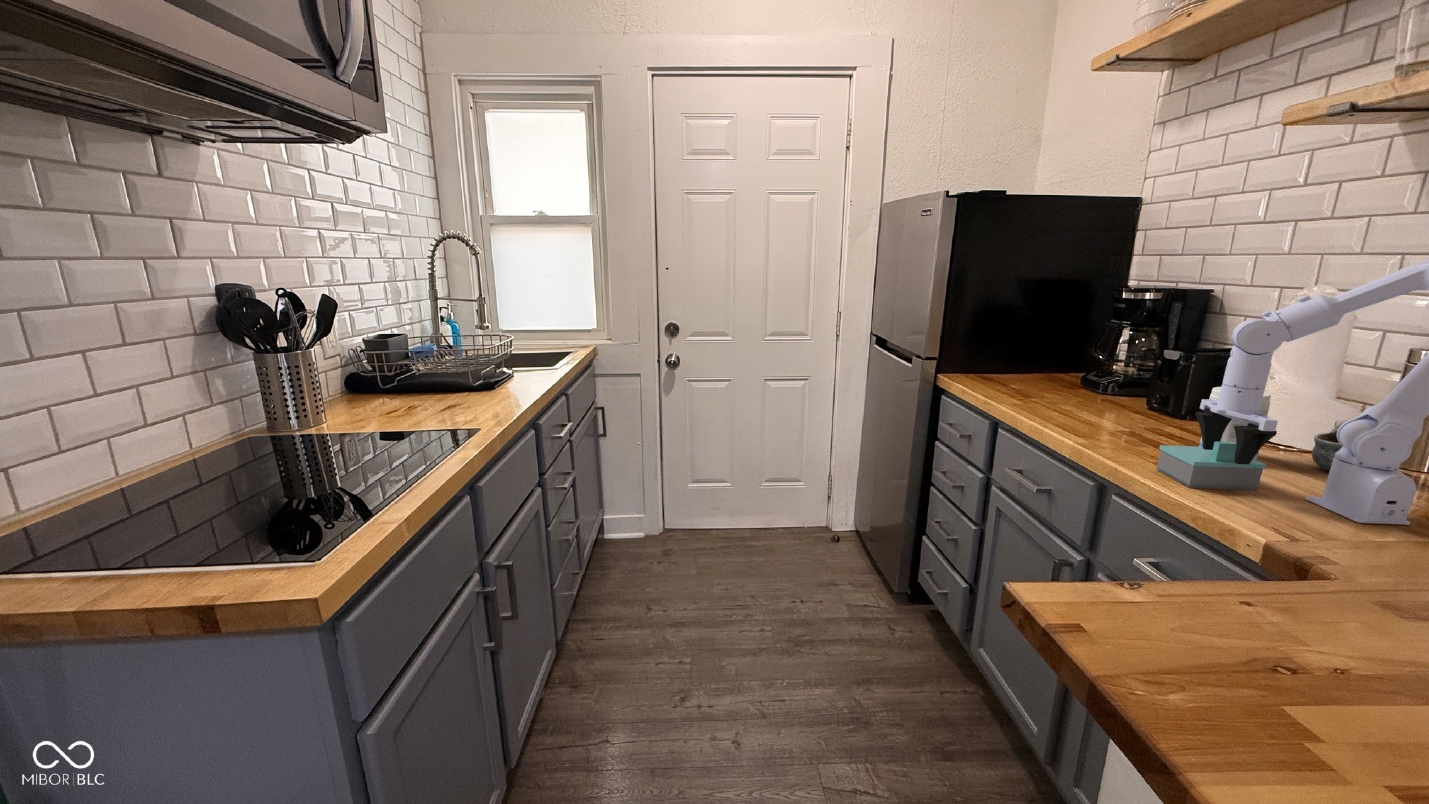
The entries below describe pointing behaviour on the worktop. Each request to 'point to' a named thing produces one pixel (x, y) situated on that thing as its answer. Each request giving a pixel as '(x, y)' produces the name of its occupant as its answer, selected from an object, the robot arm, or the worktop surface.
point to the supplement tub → (1229, 432)
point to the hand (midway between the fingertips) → (1225, 456)
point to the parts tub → (1208, 474)
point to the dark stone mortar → (1326, 447)
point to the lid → (1210, 455)
